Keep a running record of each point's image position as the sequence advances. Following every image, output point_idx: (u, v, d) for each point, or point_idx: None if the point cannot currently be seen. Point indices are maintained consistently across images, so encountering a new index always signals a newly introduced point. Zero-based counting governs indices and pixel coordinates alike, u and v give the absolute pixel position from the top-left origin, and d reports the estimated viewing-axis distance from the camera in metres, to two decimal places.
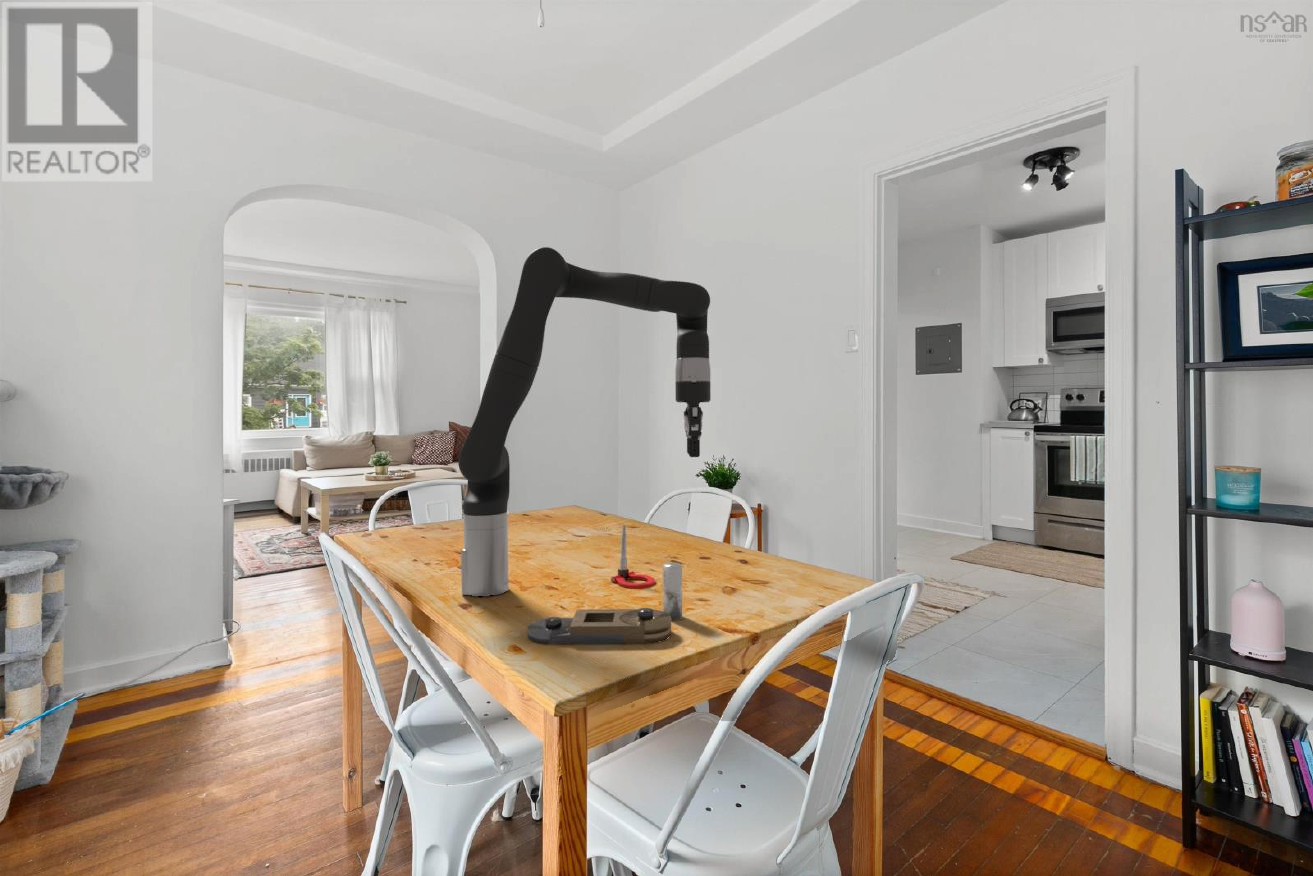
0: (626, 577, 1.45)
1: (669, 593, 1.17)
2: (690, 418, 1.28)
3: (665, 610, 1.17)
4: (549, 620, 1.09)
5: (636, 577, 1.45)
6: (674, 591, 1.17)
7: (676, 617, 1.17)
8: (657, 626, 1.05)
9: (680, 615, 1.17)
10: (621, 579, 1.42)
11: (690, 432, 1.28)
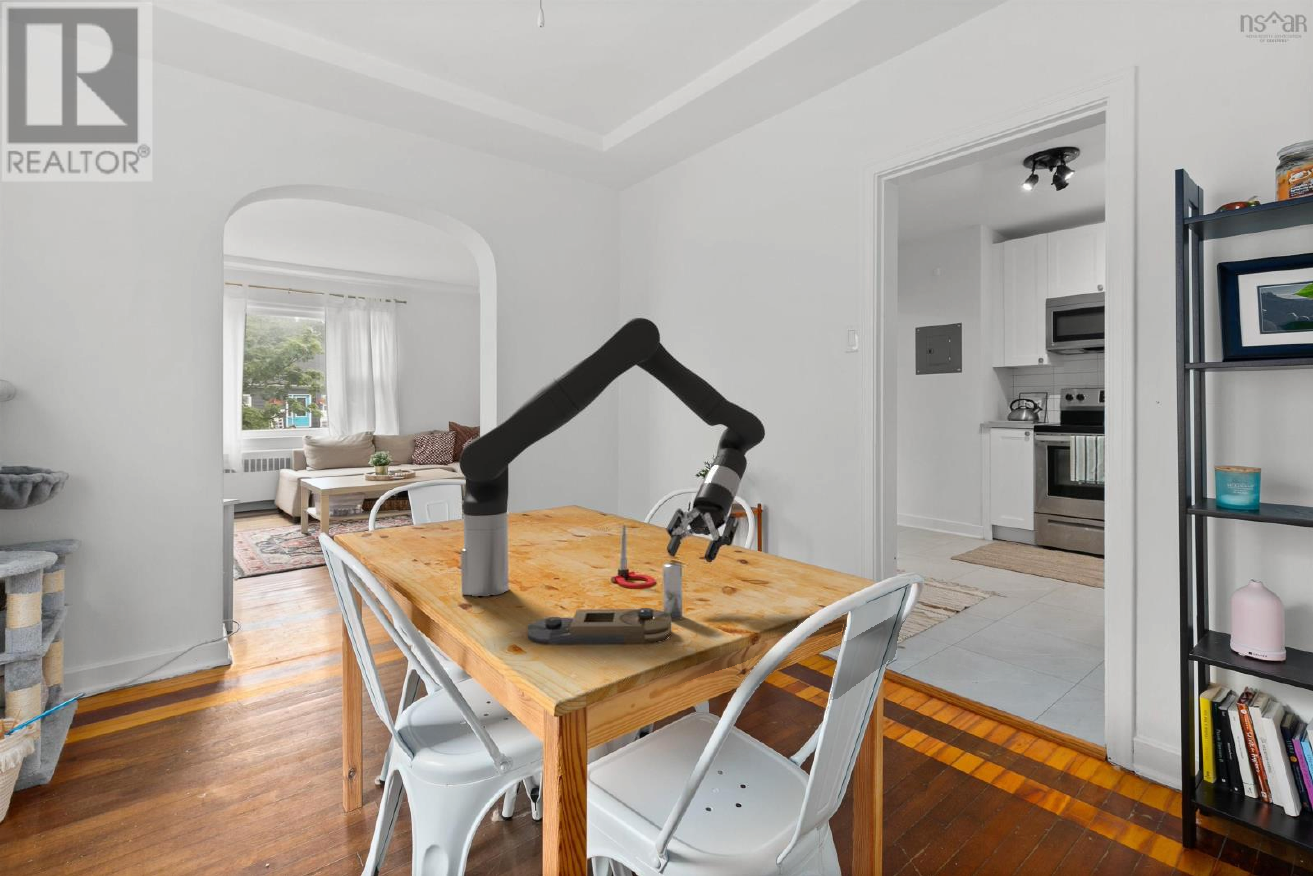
0: (626, 577, 1.45)
1: (669, 593, 1.17)
2: (732, 524, 1.23)
3: (665, 610, 1.17)
4: (549, 620, 1.09)
5: (636, 577, 1.45)
6: (674, 591, 1.17)
7: (676, 617, 1.17)
8: (657, 626, 1.05)
9: (680, 615, 1.17)
10: (621, 579, 1.42)
11: (728, 536, 1.21)
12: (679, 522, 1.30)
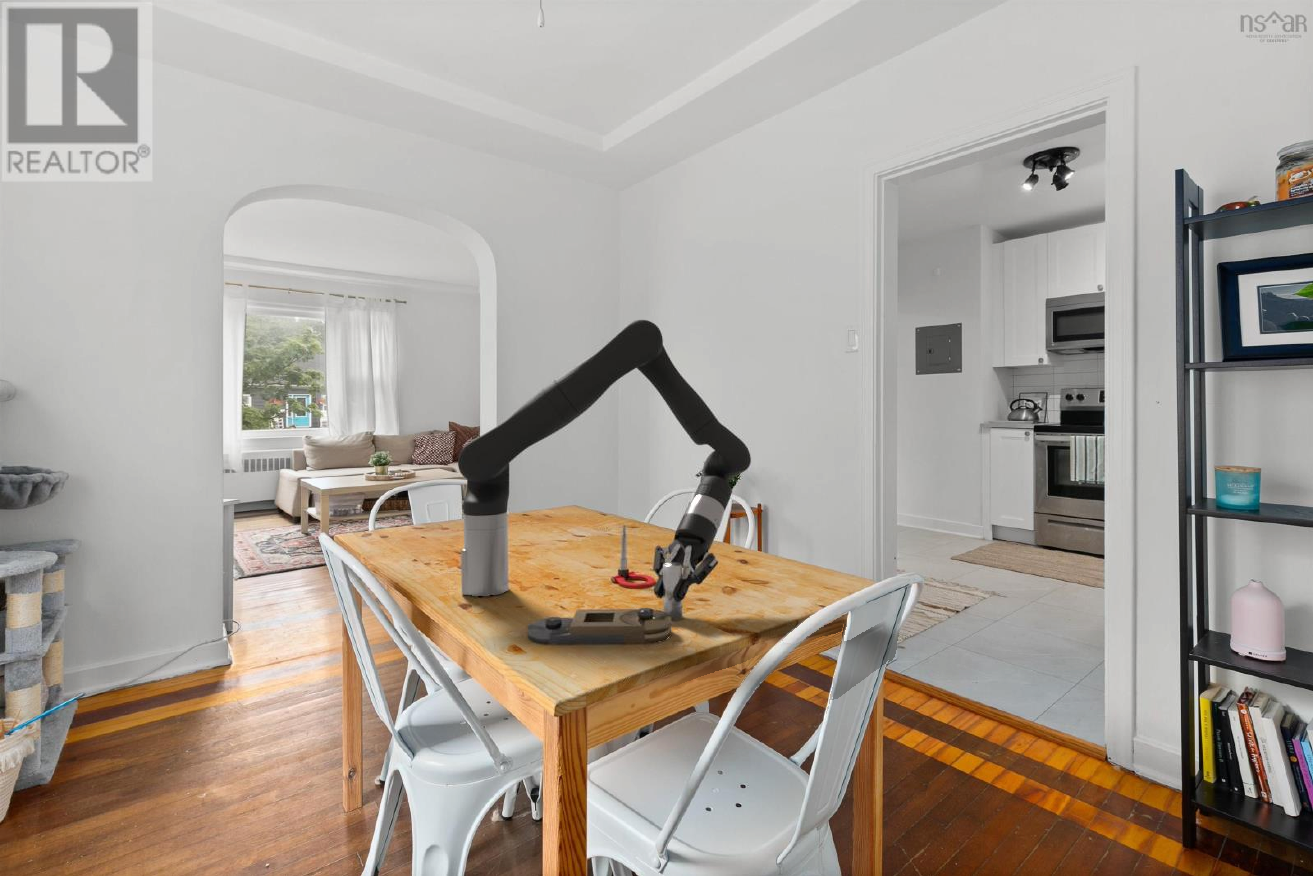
0: (626, 577, 1.45)
1: (669, 593, 1.17)
2: (707, 564, 1.17)
3: (665, 610, 1.17)
4: (549, 620, 1.09)
5: (636, 577, 1.45)
6: (674, 590, 1.16)
7: (676, 617, 1.17)
8: (657, 626, 1.05)
9: (680, 615, 1.17)
10: (621, 579, 1.42)
11: (697, 576, 1.16)
12: (662, 559, 1.24)
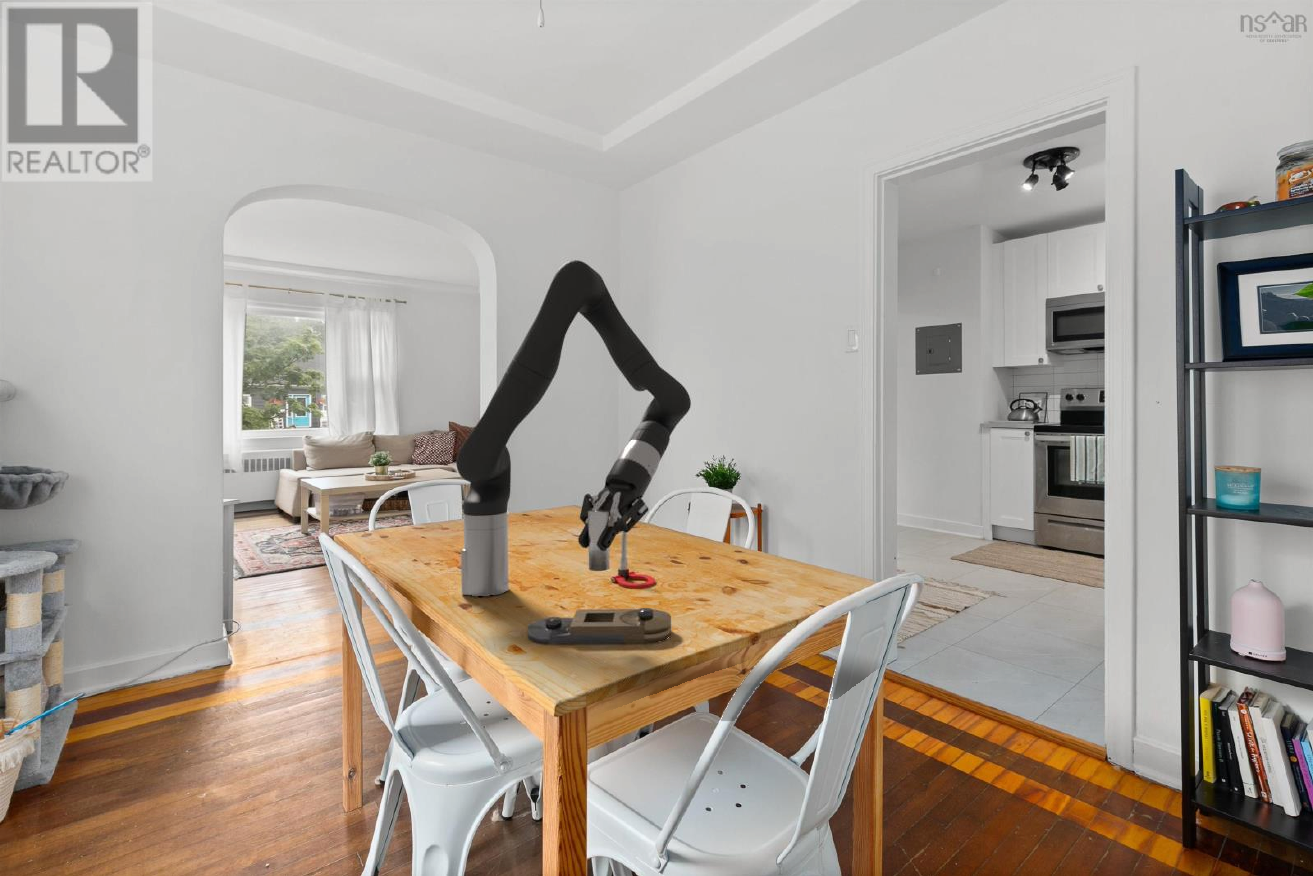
0: (626, 577, 1.45)
1: (594, 542, 1.07)
2: (635, 511, 1.08)
3: (590, 560, 1.08)
4: (549, 620, 1.09)
5: (636, 577, 1.45)
6: None
7: (601, 567, 1.08)
8: (657, 626, 1.05)
9: (606, 566, 1.08)
10: (621, 579, 1.42)
11: (623, 523, 1.07)
12: (591, 508, 1.14)
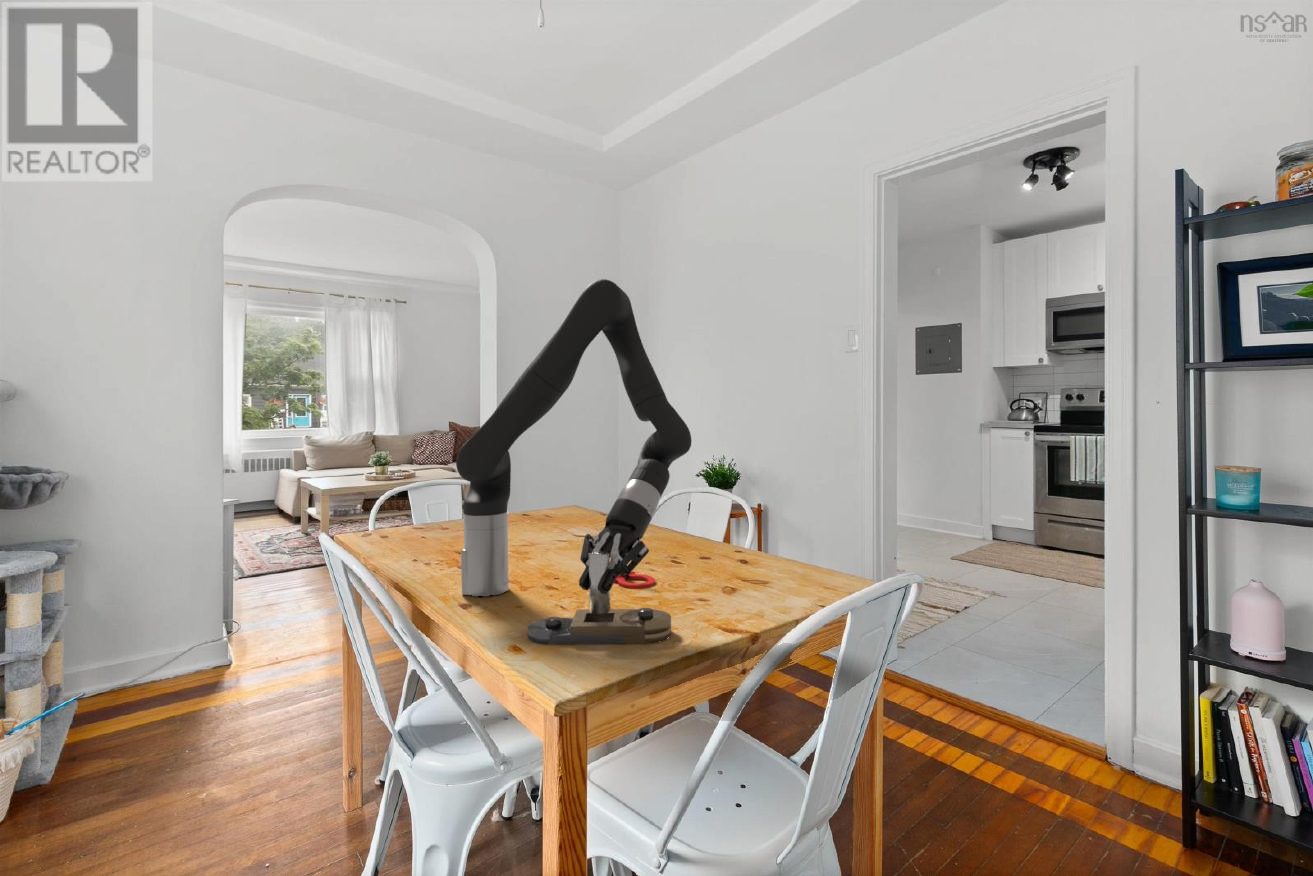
0: (626, 577, 1.45)
1: (594, 585, 1.07)
2: (635, 553, 1.08)
3: (591, 603, 1.08)
4: (549, 620, 1.09)
5: (636, 577, 1.45)
6: None
7: (602, 610, 1.08)
8: (657, 626, 1.05)
9: (607, 609, 1.08)
10: (621, 579, 1.42)
11: (624, 565, 1.07)
12: (592, 548, 1.15)
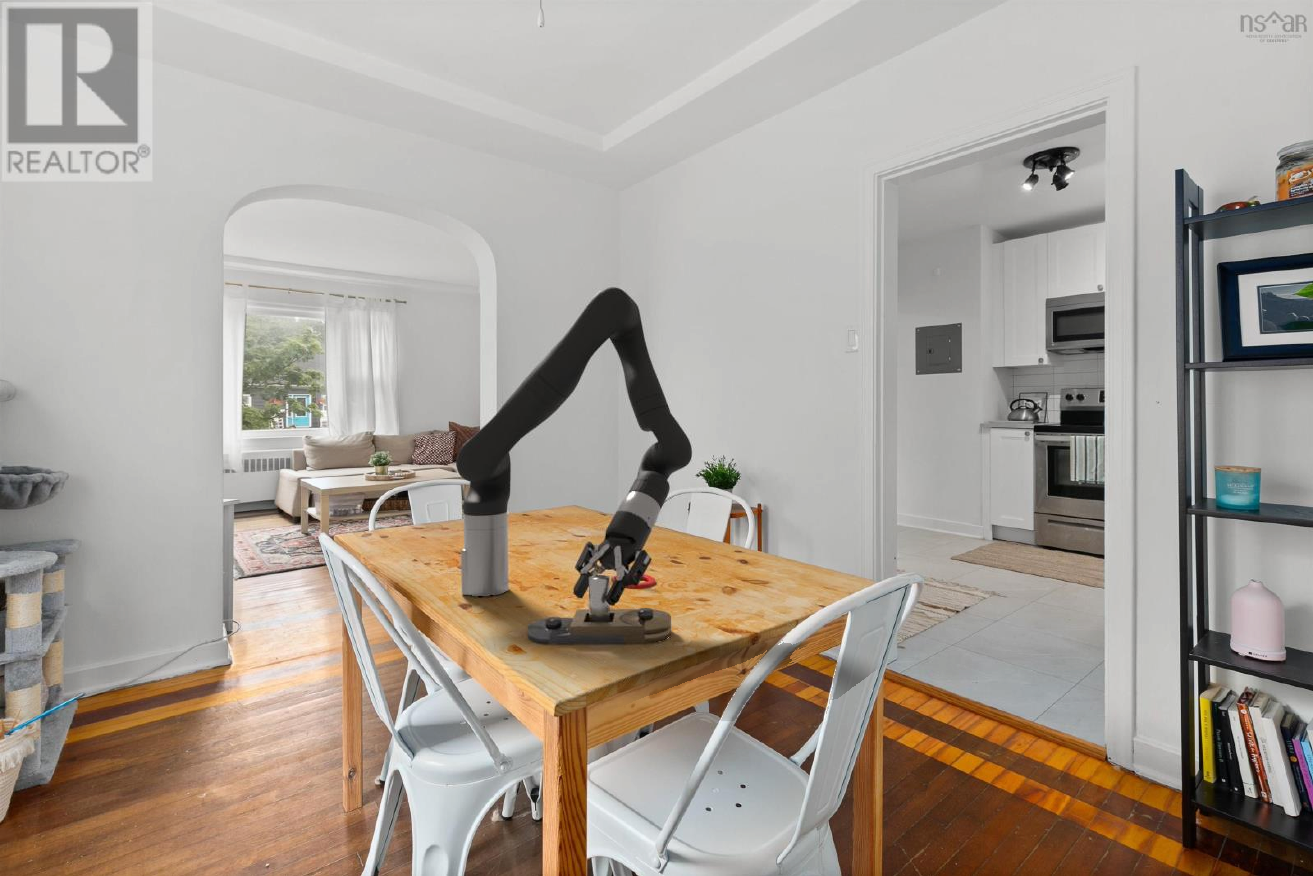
0: None
1: (594, 609, 1.08)
2: (641, 562, 1.08)
3: None
4: (549, 620, 1.09)
5: None
6: (600, 606, 1.08)
7: None
8: (657, 626, 1.05)
9: None
10: None
11: (633, 576, 1.06)
12: (590, 557, 1.15)
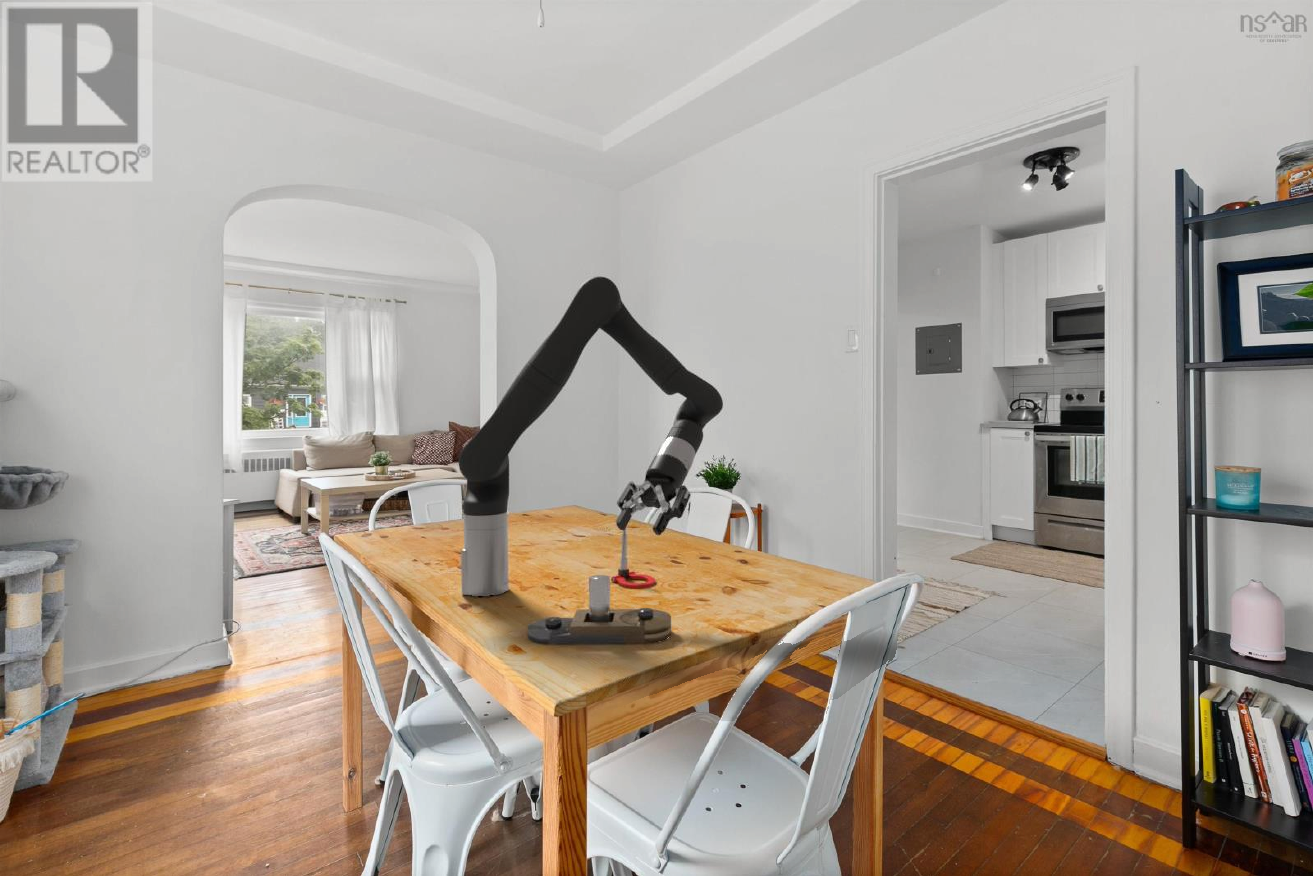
0: (626, 577, 1.45)
1: (594, 609, 1.08)
2: (683, 496, 1.18)
3: None
4: (549, 620, 1.09)
5: (636, 577, 1.45)
6: (600, 606, 1.08)
7: None
8: (657, 626, 1.05)
9: None
10: (621, 579, 1.42)
11: (677, 508, 1.16)
12: (631, 495, 1.26)
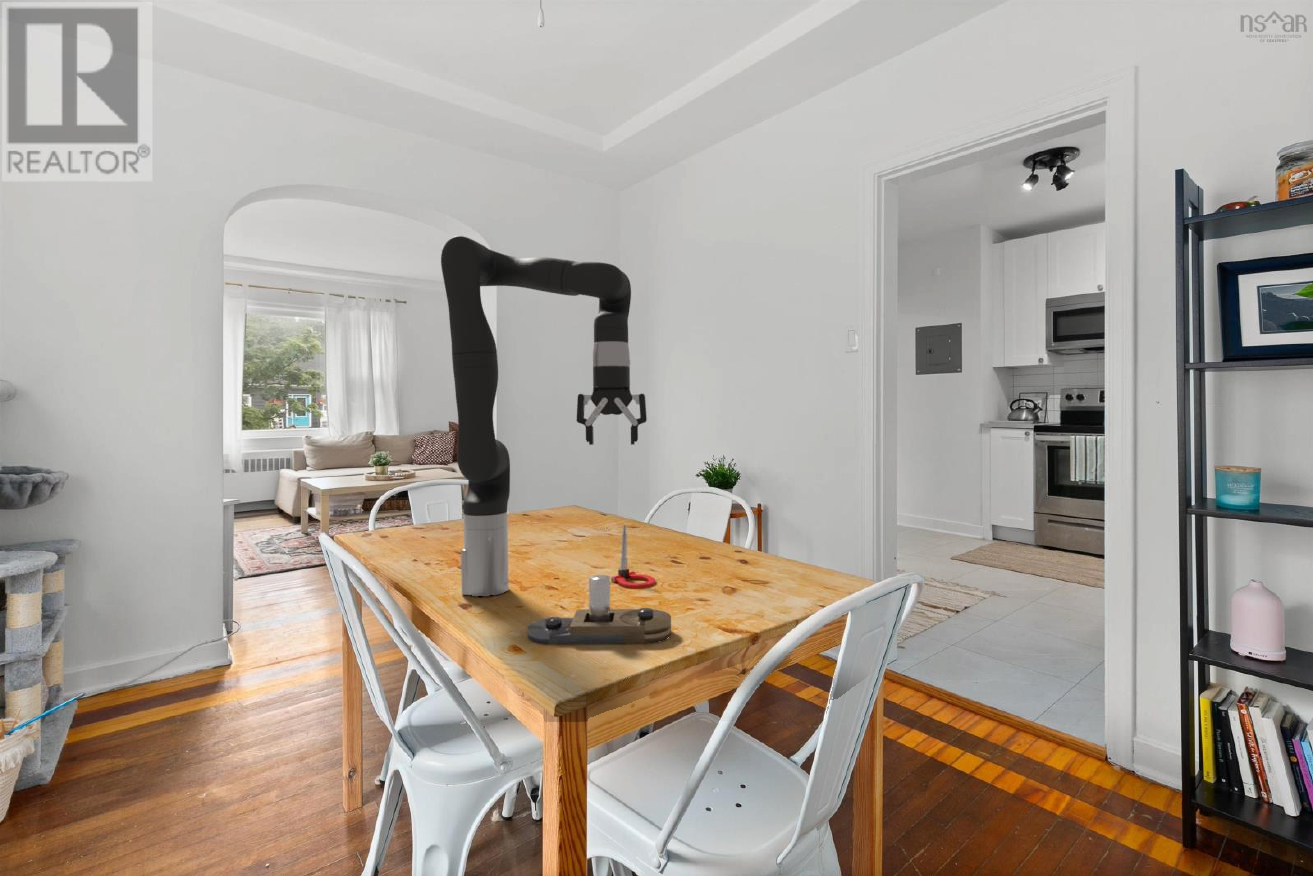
0: (626, 577, 1.45)
1: (594, 609, 1.08)
2: (645, 404, 1.28)
3: None
4: (549, 620, 1.09)
5: (636, 577, 1.45)
6: (600, 606, 1.08)
7: None
8: (657, 626, 1.05)
9: None
10: (621, 579, 1.42)
11: None
12: (583, 406, 1.29)
